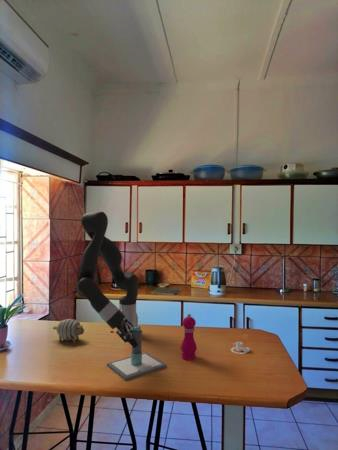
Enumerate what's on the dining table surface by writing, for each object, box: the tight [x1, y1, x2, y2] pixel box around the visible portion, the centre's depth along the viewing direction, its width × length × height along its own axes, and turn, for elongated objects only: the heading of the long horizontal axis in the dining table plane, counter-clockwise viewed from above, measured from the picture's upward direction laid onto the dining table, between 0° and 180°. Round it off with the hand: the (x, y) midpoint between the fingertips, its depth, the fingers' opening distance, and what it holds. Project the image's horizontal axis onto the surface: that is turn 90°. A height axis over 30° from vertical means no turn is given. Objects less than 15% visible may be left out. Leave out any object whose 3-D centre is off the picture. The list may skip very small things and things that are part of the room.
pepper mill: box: [180, 313, 198, 361], centre depth 146 cm, size 7×7×20 cm
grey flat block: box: [106, 351, 168, 382], centre depth 136 cm, size 20×16×2 cm
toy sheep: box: [52, 318, 85, 344], centre depth 165 cm, size 11×17×11 cm, turn 84°
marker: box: [130, 325, 143, 366], centre depth 136 cm, size 5×5×16 cm
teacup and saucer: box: [230, 341, 251, 355], centre depth 154 cm, size 9×8×4 cm
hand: (138, 342), depth 136 cm, fingers open, 8 cm apart
